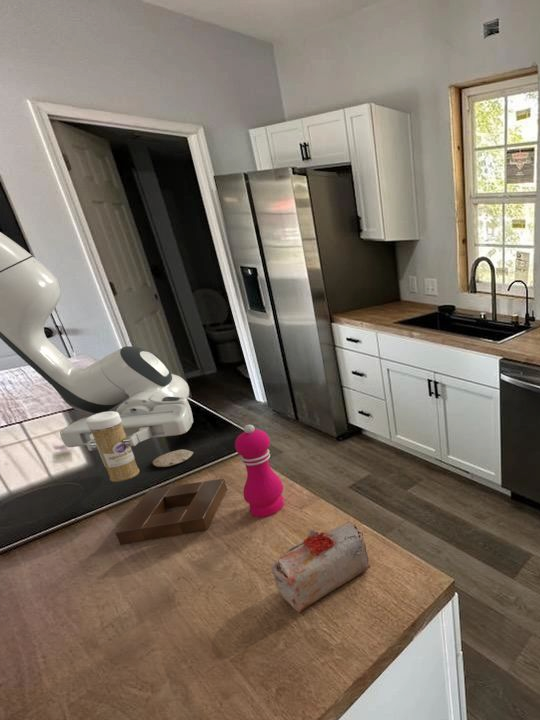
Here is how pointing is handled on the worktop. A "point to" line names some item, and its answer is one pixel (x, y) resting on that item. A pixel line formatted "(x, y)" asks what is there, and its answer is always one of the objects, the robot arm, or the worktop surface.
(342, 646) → the worktop surface
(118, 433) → the sprinkles bottle
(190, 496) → the socket block
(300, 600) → the food item
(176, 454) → the flatbread
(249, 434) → the pepper mill
